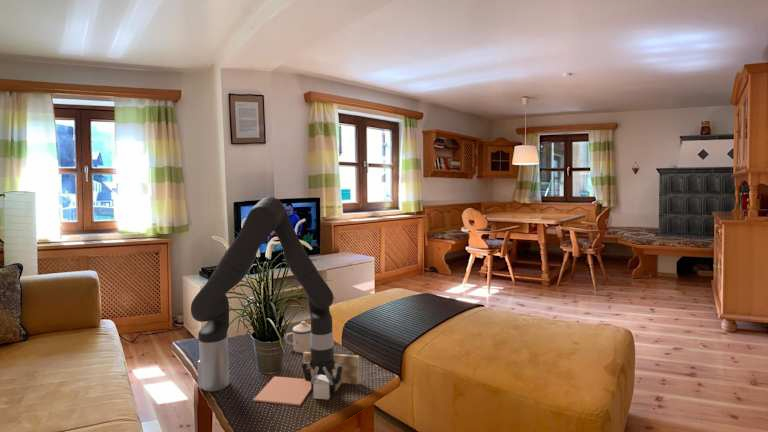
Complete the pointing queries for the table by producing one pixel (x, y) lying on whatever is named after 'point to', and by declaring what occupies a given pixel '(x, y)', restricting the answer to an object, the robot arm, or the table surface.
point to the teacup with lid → (301, 337)
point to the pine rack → (349, 368)
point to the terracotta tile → (284, 391)
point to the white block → (322, 386)
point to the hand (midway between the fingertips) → (323, 393)
